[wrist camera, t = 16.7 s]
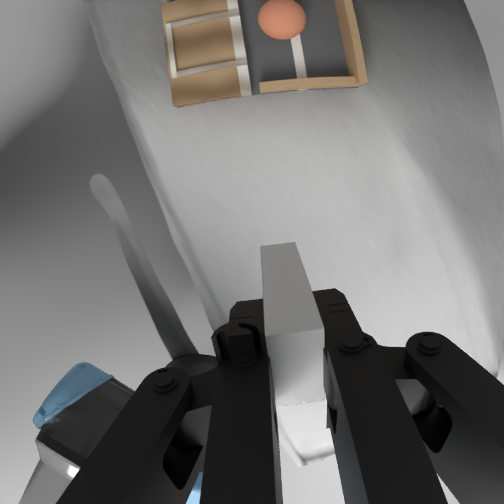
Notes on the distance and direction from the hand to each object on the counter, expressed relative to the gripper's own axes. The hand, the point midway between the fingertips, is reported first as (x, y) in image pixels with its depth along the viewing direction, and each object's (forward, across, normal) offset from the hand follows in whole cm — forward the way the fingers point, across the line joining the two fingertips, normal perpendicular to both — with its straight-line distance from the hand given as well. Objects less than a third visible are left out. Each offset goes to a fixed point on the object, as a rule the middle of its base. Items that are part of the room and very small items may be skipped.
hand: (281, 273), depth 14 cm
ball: (+23, -5, -20) cm, 31 cm away
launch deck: (+26, +4, -18) cm, 32 cm away
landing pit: (+26, -6, -18) cm, 33 cm away
